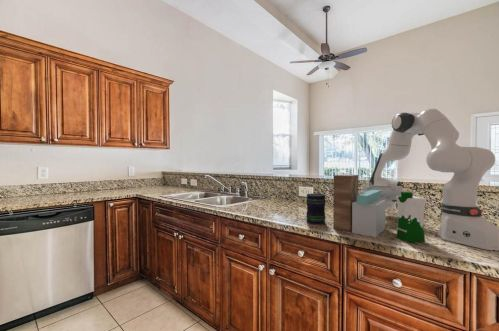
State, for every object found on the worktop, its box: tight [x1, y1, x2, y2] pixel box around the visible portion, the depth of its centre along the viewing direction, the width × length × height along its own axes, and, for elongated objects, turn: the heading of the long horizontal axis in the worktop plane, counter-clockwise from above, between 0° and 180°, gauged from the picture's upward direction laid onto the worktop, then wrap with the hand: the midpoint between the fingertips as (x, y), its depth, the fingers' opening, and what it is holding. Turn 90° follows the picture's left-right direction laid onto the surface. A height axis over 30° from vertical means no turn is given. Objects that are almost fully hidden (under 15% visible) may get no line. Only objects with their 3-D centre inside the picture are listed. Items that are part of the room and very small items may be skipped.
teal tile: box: [357, 190, 381, 205], centre depth 114 cm, size 26×4×4 cm, turn 140°
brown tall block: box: [332, 173, 359, 233], centre depth 119 cm, size 12×8×26 cm, turn 140°
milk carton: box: [396, 191, 428, 244], centre depth 100 cm, size 9×9×20 cm
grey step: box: [351, 199, 386, 238], centre depth 114 cm, size 18×10×14 cm, turn 140°
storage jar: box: [305, 192, 326, 226], centre depth 129 cm, size 10×10×15 cm
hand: (379, 184), depth 128 cm, fingers open, 8 cm apart
